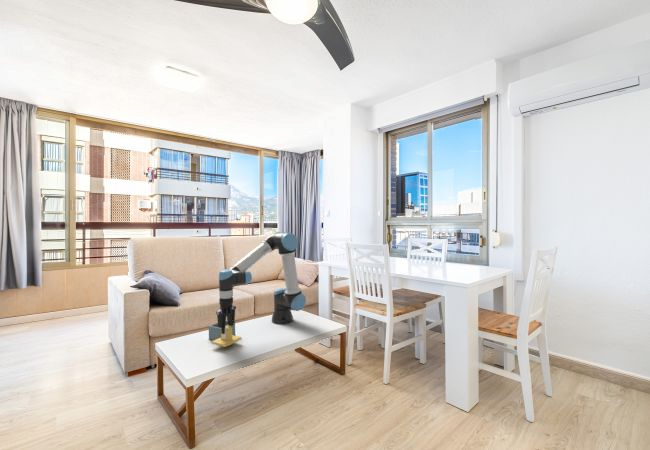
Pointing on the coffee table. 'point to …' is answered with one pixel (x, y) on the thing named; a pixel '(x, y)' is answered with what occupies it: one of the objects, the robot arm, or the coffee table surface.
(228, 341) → the lid
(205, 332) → the coffee table surface
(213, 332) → the box
